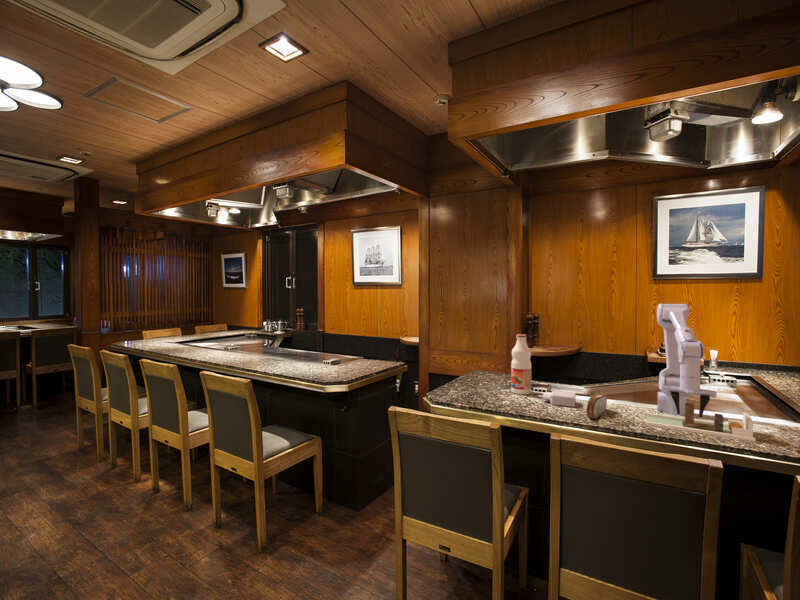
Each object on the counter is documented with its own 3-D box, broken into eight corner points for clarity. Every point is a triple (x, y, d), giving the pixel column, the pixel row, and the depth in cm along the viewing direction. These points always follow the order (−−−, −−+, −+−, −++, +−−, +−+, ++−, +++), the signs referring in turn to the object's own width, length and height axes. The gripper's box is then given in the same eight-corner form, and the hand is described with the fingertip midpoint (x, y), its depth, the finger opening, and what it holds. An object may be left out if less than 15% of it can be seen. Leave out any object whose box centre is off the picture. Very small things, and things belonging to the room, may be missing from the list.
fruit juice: (533, 395, 188) (534, 335, 187) (513, 394, 188) (513, 335, 188) (528, 390, 197) (528, 333, 197) (508, 390, 198) (509, 333, 197)
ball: (746, 431, 129) (735, 437, 131) (744, 428, 132) (734, 433, 134) (736, 421, 131) (726, 427, 132) (735, 418, 134) (725, 424, 135)
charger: (539, 398, 182) (575, 402, 175) (537, 403, 174) (574, 408, 167) (539, 388, 182) (575, 392, 175) (537, 393, 174) (574, 396, 167)
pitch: (644, 428, 141) (644, 407, 141) (646, 419, 152) (646, 399, 152) (755, 446, 125) (755, 422, 125) (748, 434, 135) (748, 412, 135)
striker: (682, 426, 138) (682, 404, 138) (682, 422, 142) (682, 402, 142) (723, 432, 132) (723, 410, 132) (721, 428, 136) (721, 406, 136)
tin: (600, 411, 162) (600, 391, 162) (608, 413, 159) (608, 392, 159) (585, 419, 151) (585, 397, 151) (594, 421, 149) (594, 399, 149)
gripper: (664, 375, 140) (664, 414, 140) (717, 380, 132) (717, 421, 132) (664, 372, 145) (664, 409, 146) (715, 377, 137) (714, 416, 138)
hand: (689, 415), depth 139 cm, fingers open, 6 cm apart
